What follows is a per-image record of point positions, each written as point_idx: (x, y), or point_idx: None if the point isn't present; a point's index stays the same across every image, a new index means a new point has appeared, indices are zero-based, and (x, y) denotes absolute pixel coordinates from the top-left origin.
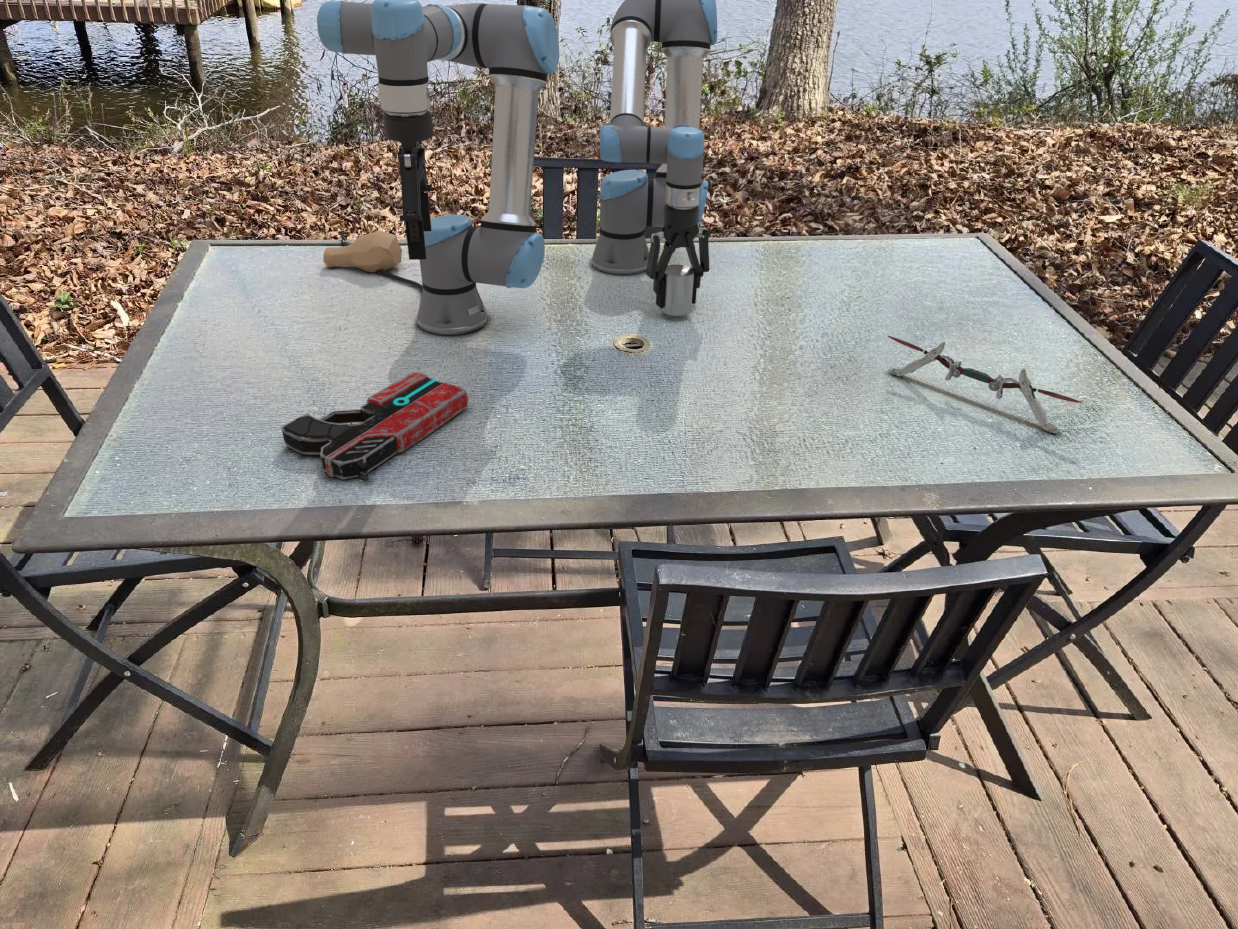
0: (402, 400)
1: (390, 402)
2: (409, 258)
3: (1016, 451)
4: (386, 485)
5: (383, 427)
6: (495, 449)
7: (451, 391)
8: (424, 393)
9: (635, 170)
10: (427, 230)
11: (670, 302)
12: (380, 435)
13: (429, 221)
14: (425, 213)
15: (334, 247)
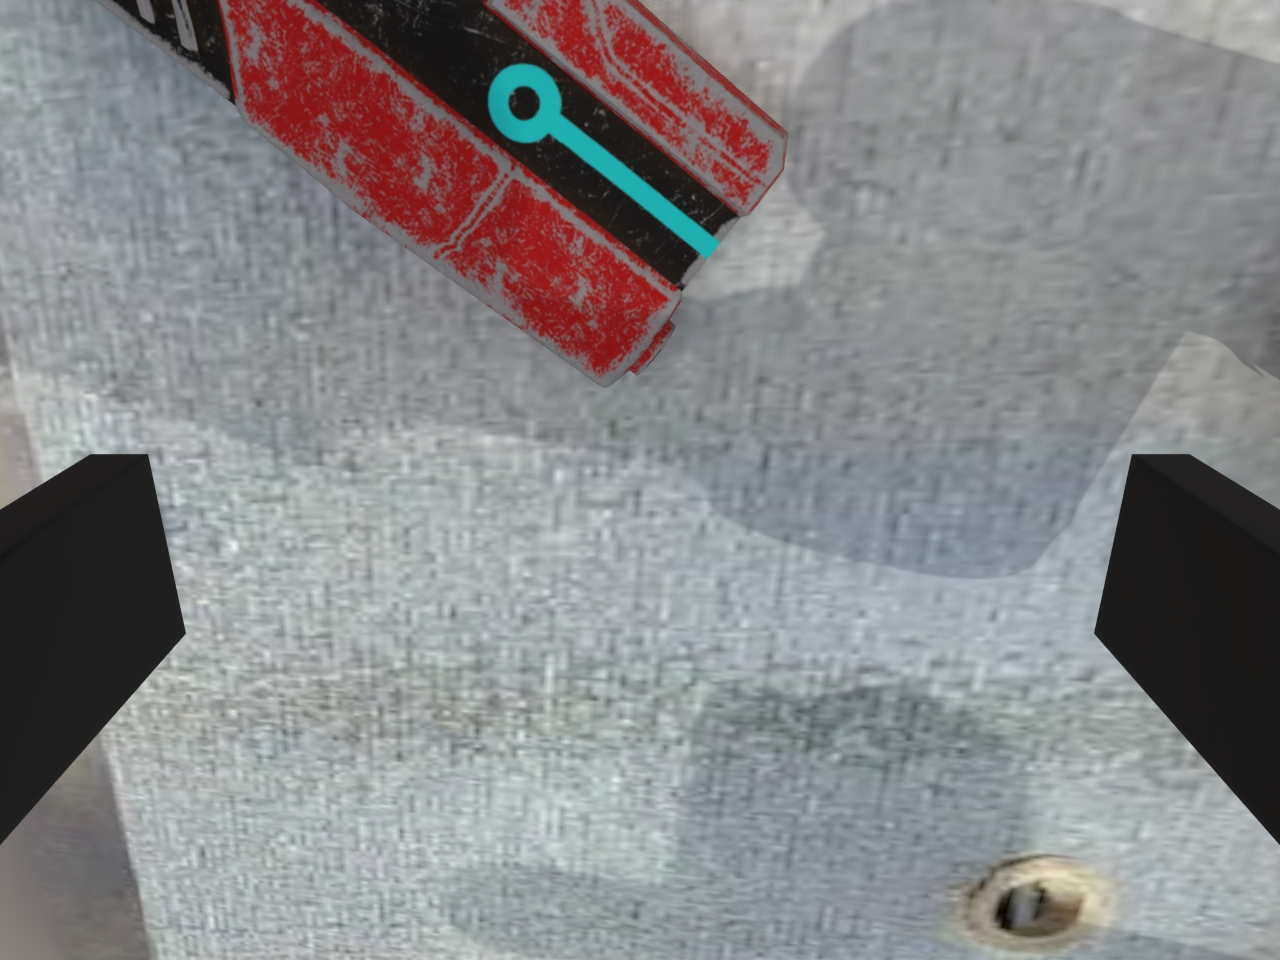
0: (532, 109)
1: (515, 51)
2: (80, 464)
3: None
4: (60, 78)
5: (280, 42)
6: (333, 463)
7: (591, 329)
8: (592, 209)
9: None
10: (1107, 598)
11: None
12: (226, 33)
13: (1162, 696)
14: (1238, 732)
15: None
